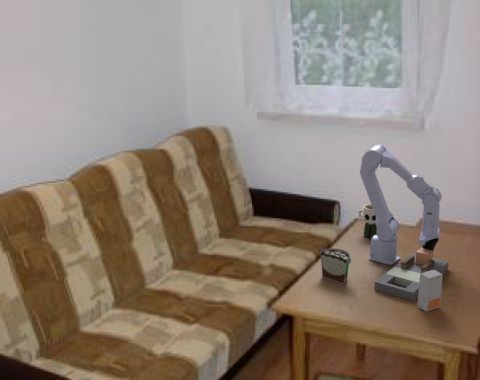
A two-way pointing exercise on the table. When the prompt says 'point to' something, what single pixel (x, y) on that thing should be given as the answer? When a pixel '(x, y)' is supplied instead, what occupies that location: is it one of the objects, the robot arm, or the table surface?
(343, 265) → the food container
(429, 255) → the terracotta block
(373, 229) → the character mug
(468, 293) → the table surface
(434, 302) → the skincare box
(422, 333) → the table surface
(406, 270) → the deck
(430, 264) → the tunnel walls
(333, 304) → the table surface
